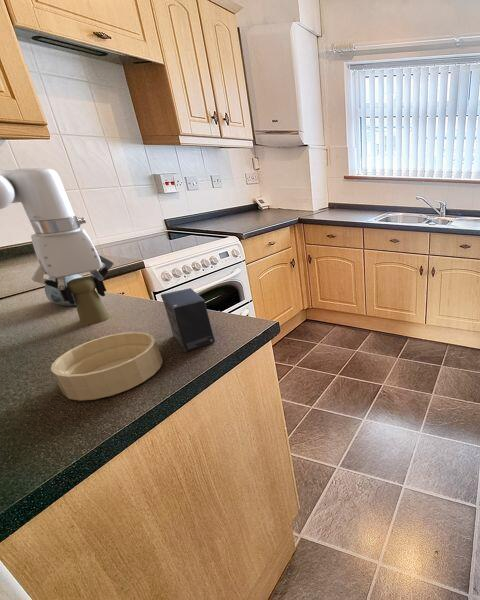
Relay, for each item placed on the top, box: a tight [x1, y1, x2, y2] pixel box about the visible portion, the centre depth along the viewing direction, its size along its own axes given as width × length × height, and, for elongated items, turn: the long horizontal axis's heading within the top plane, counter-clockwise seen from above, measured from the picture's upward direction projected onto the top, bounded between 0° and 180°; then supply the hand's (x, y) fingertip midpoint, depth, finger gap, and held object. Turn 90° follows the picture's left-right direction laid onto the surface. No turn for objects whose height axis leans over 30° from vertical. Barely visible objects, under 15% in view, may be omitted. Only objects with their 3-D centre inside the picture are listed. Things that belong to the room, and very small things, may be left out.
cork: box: [67, 276, 112, 326], centre depth 84 cm, size 6×6×11 cm
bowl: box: [50, 331, 163, 401], centre depth 63 cm, size 15×15×6 cm
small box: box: [160, 287, 216, 353], centre depth 75 cm, size 11×6×10 cm, turn 44°
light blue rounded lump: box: [44, 274, 84, 307], centre depth 95 cm, size 14×10×10 cm
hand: (86, 298), depth 84 cm, fingers closed on cork, 5 cm apart
